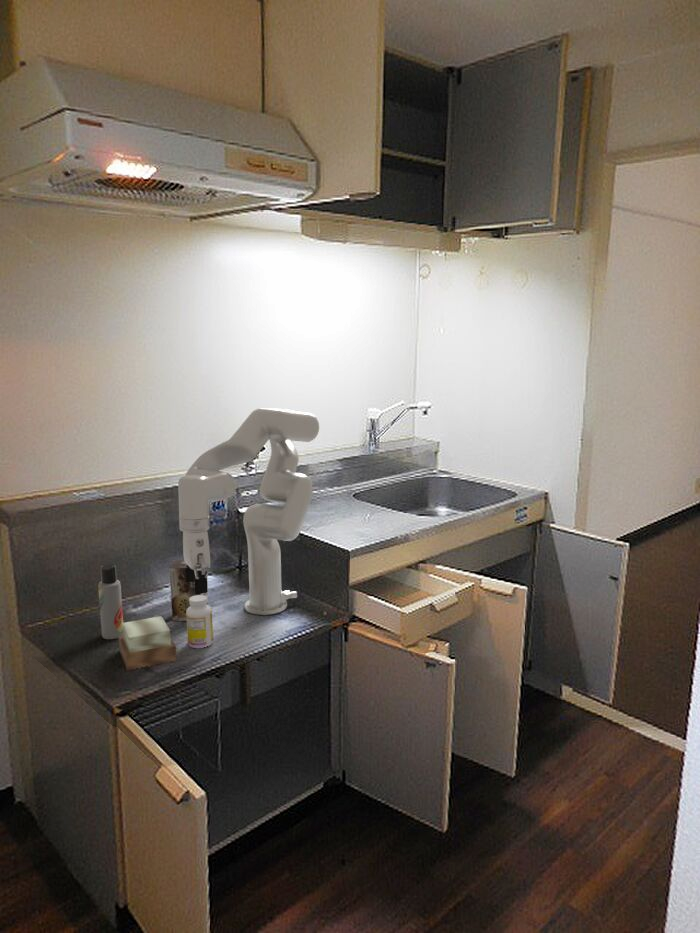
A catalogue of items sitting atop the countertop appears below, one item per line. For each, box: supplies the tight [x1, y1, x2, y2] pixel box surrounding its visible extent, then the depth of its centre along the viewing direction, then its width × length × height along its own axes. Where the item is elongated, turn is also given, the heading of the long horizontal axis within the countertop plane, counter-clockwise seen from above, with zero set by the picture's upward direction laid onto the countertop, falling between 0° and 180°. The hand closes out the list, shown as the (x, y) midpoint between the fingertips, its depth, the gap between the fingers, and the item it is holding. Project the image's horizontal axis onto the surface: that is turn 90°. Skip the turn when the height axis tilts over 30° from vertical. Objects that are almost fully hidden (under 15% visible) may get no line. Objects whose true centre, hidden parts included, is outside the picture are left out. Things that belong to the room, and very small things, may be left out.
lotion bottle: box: [97, 563, 124, 640], centre depth 196 cm, size 6×6×20 cm
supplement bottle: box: [186, 595, 214, 649], centre depth 191 cm, size 7×7×13 cm
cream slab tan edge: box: [118, 615, 177, 671], centre depth 185 cm, size 12×12×8 cm
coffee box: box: [168, 560, 209, 622], centre depth 208 cm, size 9×6×16 cm
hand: (196, 587), depth 189 cm, fingers open, 9 cm apart
